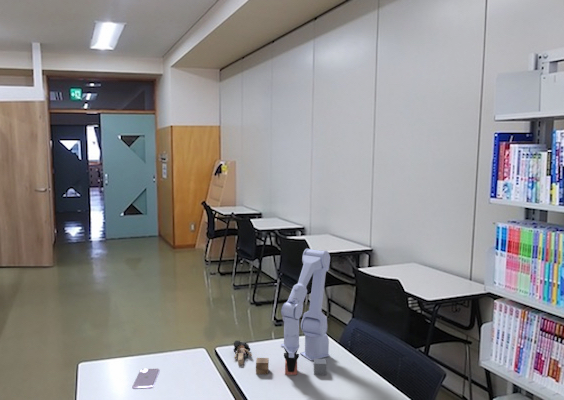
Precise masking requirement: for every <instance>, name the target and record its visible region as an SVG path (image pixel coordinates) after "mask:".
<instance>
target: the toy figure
mask: <svg viewBox="0 0 564 400" xmlns="http://www.w3.org/2000/svg"><path fill="white" fill-rule="evenodd" d="M232 345H233V347H234V348H233V353H234V354H235V355H234V360H237V365H238V366H243V365H244V358H248V357H252V356H253V354H252V353H251V352H250V351H251V347H250V345H249V343H246V342H242V341H240V340H235V341H233V344H232Z"/></svg>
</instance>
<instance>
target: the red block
mask: <svg viewBox="0 0 564 400" xmlns="http://www.w3.org/2000/svg"><path fill="white" fill-rule="evenodd" d="M284 359H285V358H284ZM284 364H285V365H284V375H286V376H287V375H289V376H290V375H291V376H292V375H298V360H297V361H296V365H295V370H294V372H288V368H287V362H286V359H285V362H284Z"/></svg>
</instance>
